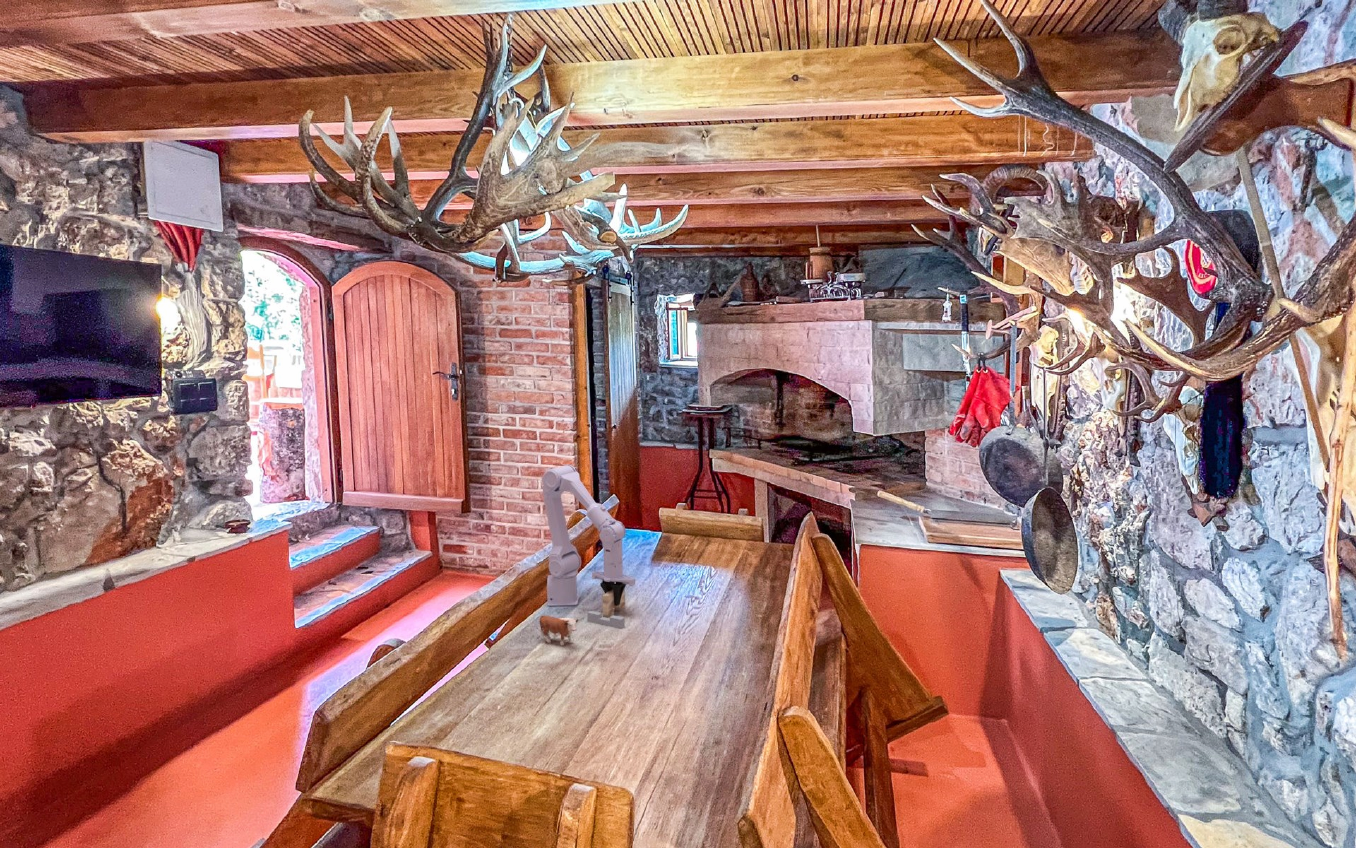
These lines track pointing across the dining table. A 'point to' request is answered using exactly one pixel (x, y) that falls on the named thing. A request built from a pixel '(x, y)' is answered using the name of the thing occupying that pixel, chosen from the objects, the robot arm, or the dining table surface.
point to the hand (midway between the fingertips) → (613, 604)
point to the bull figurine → (557, 627)
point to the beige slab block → (611, 603)
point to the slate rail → (605, 619)
